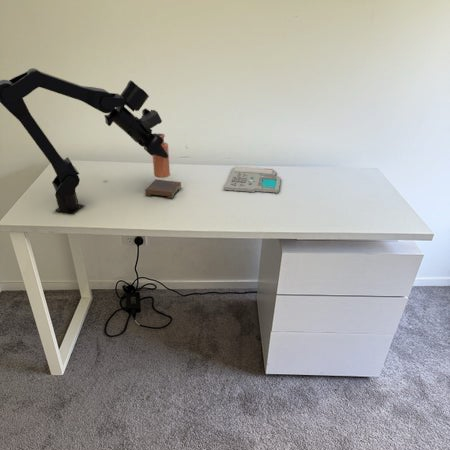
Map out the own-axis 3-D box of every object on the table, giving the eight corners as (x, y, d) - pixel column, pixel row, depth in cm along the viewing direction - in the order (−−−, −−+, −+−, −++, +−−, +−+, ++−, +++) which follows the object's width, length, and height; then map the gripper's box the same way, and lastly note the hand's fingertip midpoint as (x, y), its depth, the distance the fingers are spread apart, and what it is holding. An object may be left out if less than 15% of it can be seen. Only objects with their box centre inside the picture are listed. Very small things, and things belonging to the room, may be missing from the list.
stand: (172, 199, 135) (171, 192, 134) (145, 196, 137) (144, 189, 136) (181, 188, 143) (180, 182, 141) (156, 185, 145) (155, 179, 143)
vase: (166, 178, 133) (164, 138, 125) (151, 176, 134) (147, 136, 126) (172, 173, 138) (169, 133, 129) (157, 171, 139) (154, 132, 130)
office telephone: (233, 163, 159) (281, 166, 157) (233, 169, 160) (281, 173, 158) (224, 183, 141) (279, 187, 138) (224, 190, 142) (278, 194, 140)
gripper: (154, 108, 114) (190, 142, 125) (135, 96, 126) (169, 128, 137) (131, 139, 115) (168, 170, 126) (115, 124, 128) (150, 153, 139)
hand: (164, 154), depth 132 cm, fingers closed on vase, 5 cm apart
